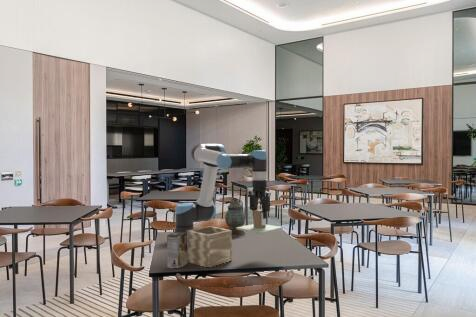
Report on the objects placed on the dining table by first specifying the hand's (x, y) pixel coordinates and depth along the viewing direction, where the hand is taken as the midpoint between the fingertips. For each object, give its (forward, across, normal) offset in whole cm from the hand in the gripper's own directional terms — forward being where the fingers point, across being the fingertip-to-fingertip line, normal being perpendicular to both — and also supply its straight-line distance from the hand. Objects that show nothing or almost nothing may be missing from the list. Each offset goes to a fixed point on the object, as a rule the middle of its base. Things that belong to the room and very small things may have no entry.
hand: (259, 224), depth 191 cm
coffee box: (+19, -23, -36) cm, 47 cm away
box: (+19, -17, -20) cm, 32 cm away
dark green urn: (+19, -54, +37) cm, 68 cm away
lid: (+3, 0, 0) cm, 3 cm away
